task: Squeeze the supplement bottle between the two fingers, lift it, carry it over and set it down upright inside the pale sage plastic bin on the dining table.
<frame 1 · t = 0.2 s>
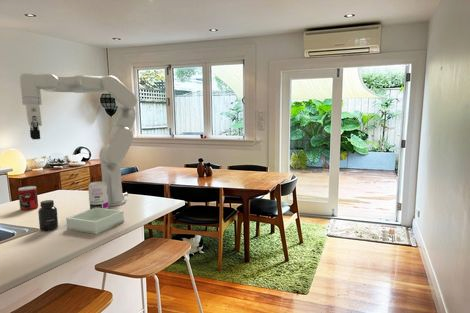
hand: (35, 138, 150), 37 cm above the kitchen island, tool pointing down, fingers open, 9 cm apart
supplement bottle: (49, 229, 137), on the kitchen island
canned food: (29, 209, 167), on the kitchen island
supplement can: (99, 213, 157), on the kitchen island
bin: (96, 225, 140), on the kitchen island
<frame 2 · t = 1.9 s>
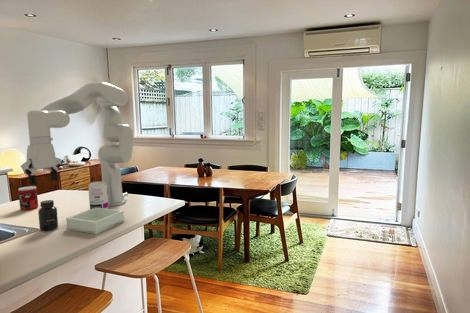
hand: (44, 182, 133), 20 cm above the kitchen island, tool pointing down, fingers open, 9 cm apart
nothing on the kitchen island moved.
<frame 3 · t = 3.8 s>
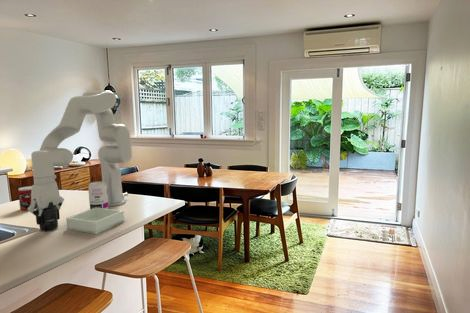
hand: (48, 221, 136), 3 cm above the kitchen island, tool pointing down, fingers closed on supplement bottle, 6 cm apart
supplement bottle: (49, 229, 137), on the kitchen island, touching gripper
everything else where it was.
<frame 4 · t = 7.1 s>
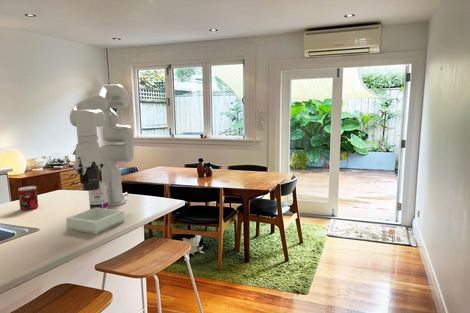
hand: (91, 181, 137), 19 cm above the kitchen island, tool pointing down, fingers closed on supplement bottle, 6 cm apart
supplement bottle: (91, 189, 138), point 16 cm above the kitchen island, touching gripper
everything else where it was.
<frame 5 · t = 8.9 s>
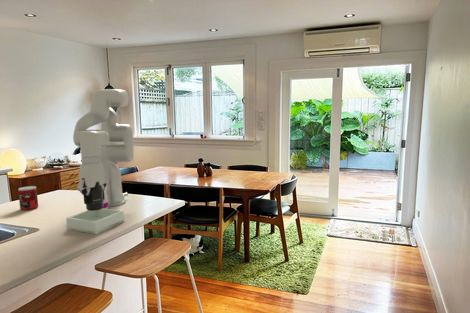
hand: (94, 201, 138), 11 cm above the kitchen island, tool pointing down, fingers closed on supplement bottle, 6 cm apart
supplement bottle: (95, 209, 139), point 7 cm above the kitchen island, touching gripper
everything else where it was.
when the fingers open (6 cm above the kitchen island, at t = 10.4 s): supplement bottle drops 1 cm, resting on bin.
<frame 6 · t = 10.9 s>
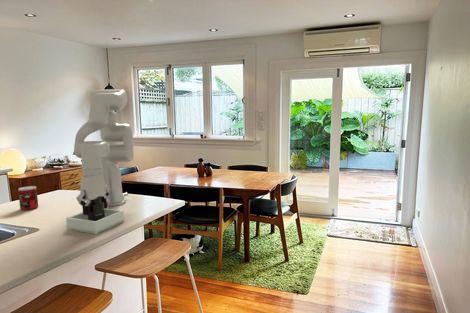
hand: (95, 211, 139), 6 cm above the kitchen island, tool pointing down, fingers open, 9 cm apart
supplement bottle: (97, 223, 140), point 1 cm above the kitchen island, touching bin
everything else where it was.
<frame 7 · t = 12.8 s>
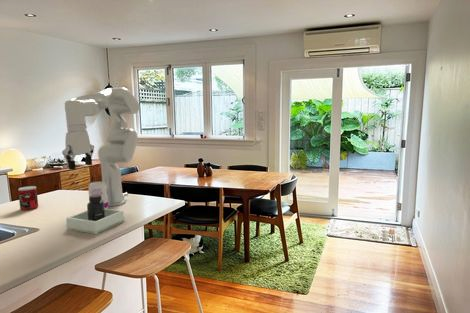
hand: (80, 167, 144), 24 cm above the kitchen island, tool pointing down, fingers open, 9 cm apart
nothing on the kitchen island moved.
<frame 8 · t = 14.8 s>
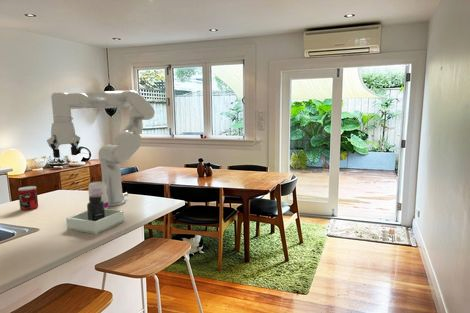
hand: (65, 156, 152), 28 cm above the kitchen island, tool pointing down, fingers open, 9 cm apart
nothing on the kitchen island moved.
at the end: supplement bottle inside the target area on the bin (0.4 cm from its centre), point 0.8 cm above the bin's base; supplement bottle tilted 0°; the gripper is holding nothing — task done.
